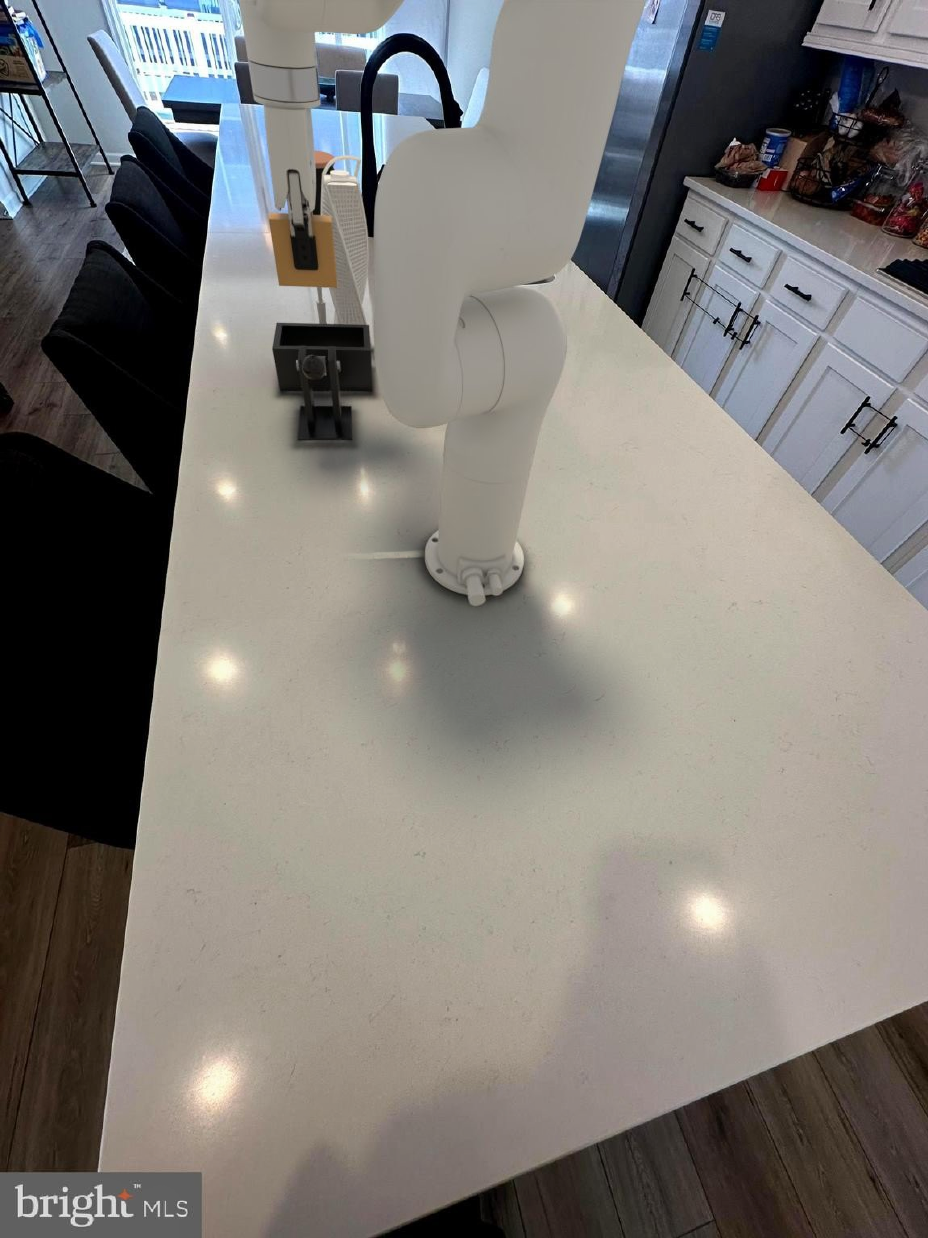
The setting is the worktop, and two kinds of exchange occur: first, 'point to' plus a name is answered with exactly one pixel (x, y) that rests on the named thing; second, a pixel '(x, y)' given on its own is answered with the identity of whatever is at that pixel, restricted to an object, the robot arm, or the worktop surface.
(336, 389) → the lever bracket
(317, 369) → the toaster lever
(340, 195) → the skyscraper
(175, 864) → the worktop surface
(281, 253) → the orange square tile
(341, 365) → the black open box
